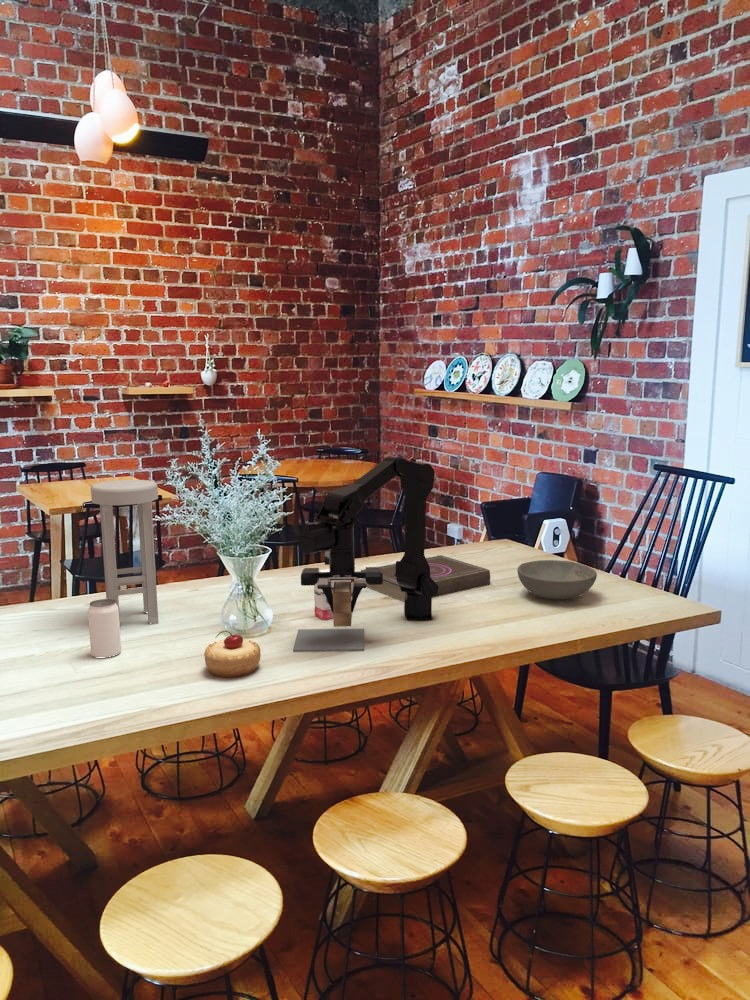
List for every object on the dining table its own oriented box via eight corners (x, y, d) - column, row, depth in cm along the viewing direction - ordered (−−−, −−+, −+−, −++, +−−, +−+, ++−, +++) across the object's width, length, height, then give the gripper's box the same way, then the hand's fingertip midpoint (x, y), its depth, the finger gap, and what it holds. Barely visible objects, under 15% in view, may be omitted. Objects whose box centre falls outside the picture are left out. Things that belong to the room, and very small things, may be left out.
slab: (351, 614, 190) (351, 581, 189) (351, 626, 181) (350, 591, 180) (335, 614, 190) (334, 581, 189) (333, 626, 181) (332, 592, 180)
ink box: (323, 620, 201) (322, 575, 199) (314, 615, 205) (313, 571, 203) (352, 614, 206) (351, 570, 204) (342, 609, 210) (341, 566, 208)
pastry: (264, 678, 166) (264, 638, 164) (206, 684, 163) (206, 643, 161) (256, 656, 177) (256, 618, 175) (202, 661, 174) (201, 622, 172)
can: (97, 648, 182) (94, 598, 180) (125, 648, 182) (122, 598, 180) (86, 659, 176) (82, 606, 174) (115, 659, 176) (112, 606, 174)
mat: (364, 630, 194) (364, 628, 193) (364, 650, 180) (364, 649, 180) (298, 630, 193) (298, 629, 193) (293, 651, 180) (293, 649, 179)
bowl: (569, 583, 233) (570, 557, 231) (611, 603, 213) (612, 574, 212) (504, 590, 226) (504, 563, 225) (541, 612, 207) (542, 582, 205)
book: (441, 570, 250) (441, 555, 249) (490, 586, 232) (490, 570, 231) (360, 586, 233) (360, 570, 232) (407, 605, 215) (407, 587, 214)
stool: (168, 624, 199) (160, 486, 193) (102, 633, 193) (93, 490, 187) (159, 607, 213) (152, 477, 207) (98, 614, 207) (89, 481, 201)
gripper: (381, 538, 191) (382, 601, 193) (303, 539, 191) (305, 602, 193) (382, 549, 180) (383, 615, 182) (299, 550, 180) (301, 616, 182)
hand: (342, 611), depth 185 cm, fingers closed on slab, 4 cm apart
